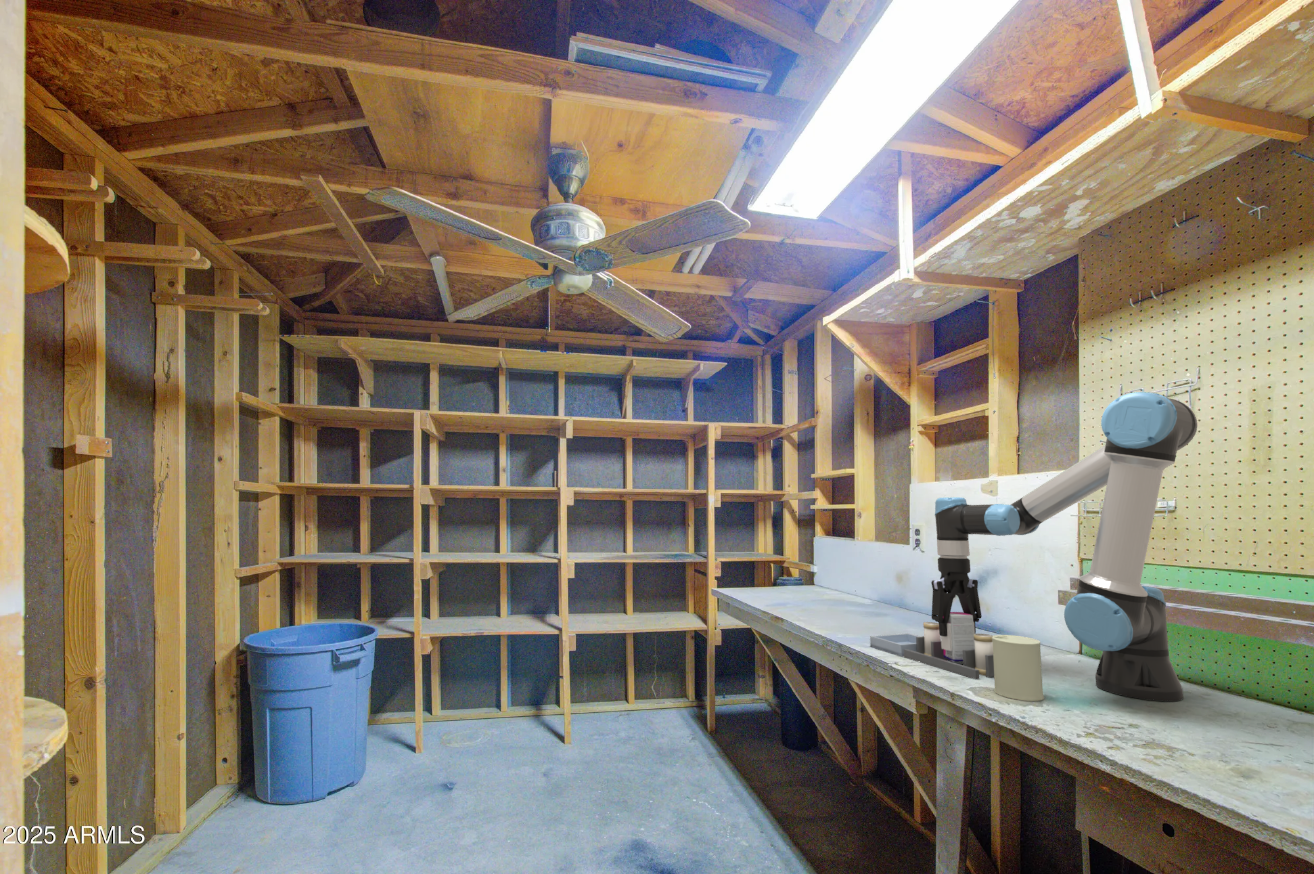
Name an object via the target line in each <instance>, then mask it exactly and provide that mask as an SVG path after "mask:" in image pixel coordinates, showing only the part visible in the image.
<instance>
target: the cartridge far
mask: <svg viewBox="0 0 1314 874" xmlns="http://www.w3.org/2000/svg"><path fill="white" fill-rule="evenodd" d="M922 625H923V626H922V627H923V636H924V646H925V652H924V654H926V655H929V656H931V641H941V636H940V634H939V623H938V622H935V621H924V622H923V624H922Z"/></svg>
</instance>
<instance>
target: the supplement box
mask: <svg viewBox="0 0 1314 874" xmlns="http://www.w3.org/2000/svg"><path fill="white" fill-rule="evenodd" d="M943 618H944V617H943ZM948 623H949V624H951V634H952V651H949V650H945V649H943V653H944V657H945V658H947V659H949V660H950V662H953V663H963V650H967V649H975V643H974V626H973V615H970V614H967V613H964V612H963V611H951V612H950V616H949V621H948Z"/></svg>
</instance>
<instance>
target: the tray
mask: <svg viewBox="0 0 1314 874" xmlns="http://www.w3.org/2000/svg"><path fill="white" fill-rule="evenodd" d="M869 637H870V639H869V640H870V641H869V643H870V644H869V645H870V647H869V648H872V649H876V650H879V651H882V652H885V653H888V654H892V655H895V656H897V657H902V658H903V657H904V649H909V650H912V651H915V652H916V637H921V636H919V635H915V634H912V633H908V632H907V633H894V634H884V635H883V634H881V635H871V636H870V635H869Z"/></svg>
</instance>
